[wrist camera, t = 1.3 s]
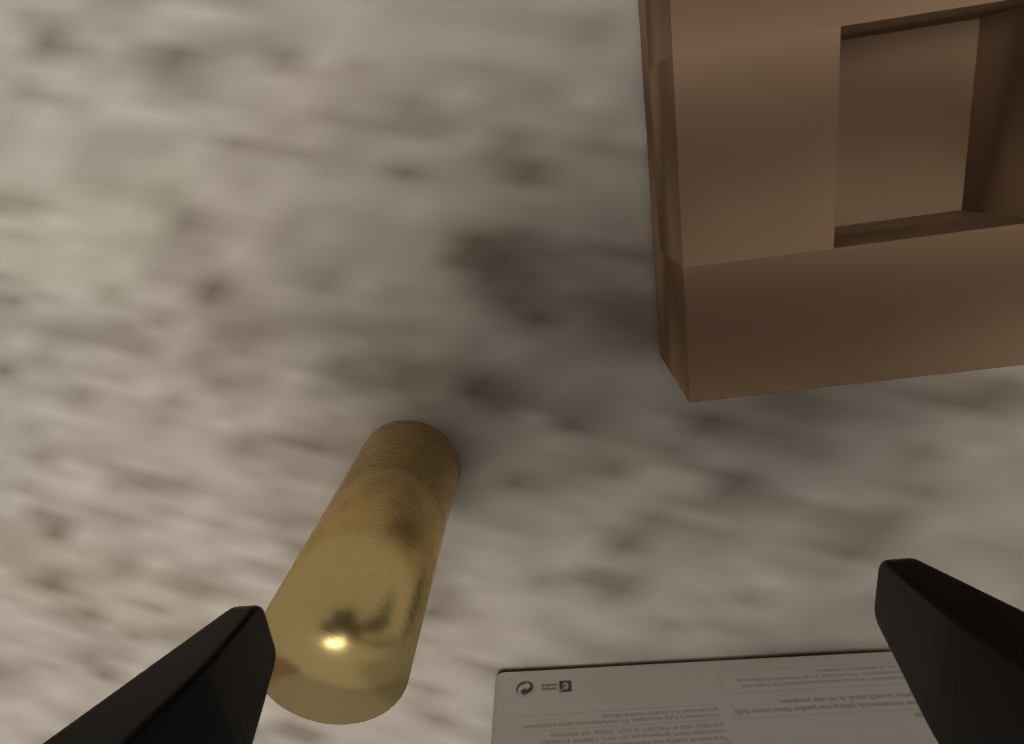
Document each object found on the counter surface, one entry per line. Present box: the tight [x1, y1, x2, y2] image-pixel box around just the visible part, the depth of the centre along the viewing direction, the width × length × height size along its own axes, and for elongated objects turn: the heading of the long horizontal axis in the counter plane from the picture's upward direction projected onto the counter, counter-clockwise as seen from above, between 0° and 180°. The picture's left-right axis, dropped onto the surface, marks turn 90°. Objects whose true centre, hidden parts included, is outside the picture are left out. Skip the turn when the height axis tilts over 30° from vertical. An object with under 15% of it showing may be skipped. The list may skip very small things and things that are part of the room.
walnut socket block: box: [638, 0, 1024, 402], centre depth 16 cm, size 12×12×4 cm
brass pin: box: [265, 421, 459, 725], centre depth 18 cm, size 4×4×9 cm
